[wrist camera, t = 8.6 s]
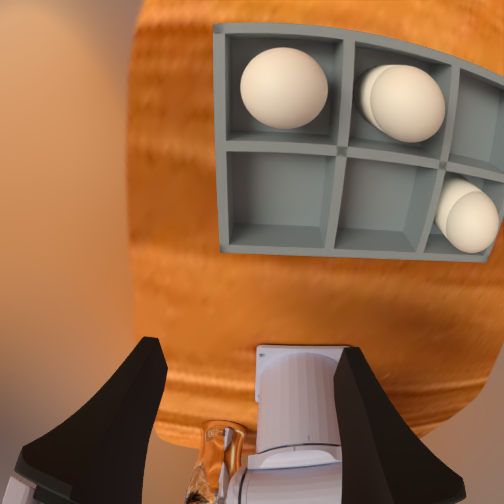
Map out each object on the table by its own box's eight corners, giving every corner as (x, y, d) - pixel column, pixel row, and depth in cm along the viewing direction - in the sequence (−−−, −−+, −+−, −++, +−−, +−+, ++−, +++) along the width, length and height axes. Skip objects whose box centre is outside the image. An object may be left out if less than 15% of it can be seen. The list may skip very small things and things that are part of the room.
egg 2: (411, 133, 14) (452, 158, 11) (351, 124, 15) (379, 145, 11) (418, 72, 12) (464, 78, 9) (355, 59, 13) (387, 56, 9)
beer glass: (245, 418, 33) (235, 533, 21) (253, 439, 37) (246, 536, 24) (190, 416, 34) (171, 524, 22) (205, 437, 38) (190, 530, 25)
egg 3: (462, 226, 17) (496, 266, 13) (420, 222, 17) (451, 265, 13) (476, 177, 15) (517, 209, 11) (432, 169, 15) (472, 202, 12)
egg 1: (316, 120, 15) (332, 139, 11) (246, 118, 15) (236, 136, 11) (318, 54, 13) (337, 47, 9) (245, 51, 13) (235, 43, 9)
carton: (466, 238, 18) (486, 262, 16) (227, 225, 19) (220, 252, 17) (500, 82, 12) (530, 90, 9) (223, 31, 13) (213, 23, 10)
